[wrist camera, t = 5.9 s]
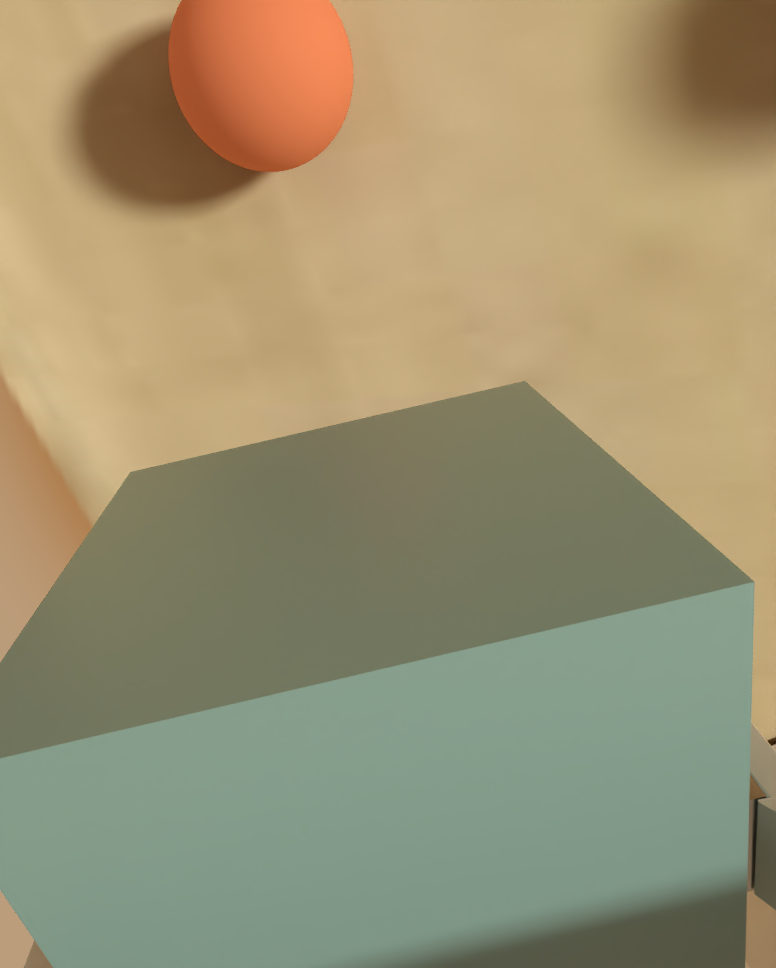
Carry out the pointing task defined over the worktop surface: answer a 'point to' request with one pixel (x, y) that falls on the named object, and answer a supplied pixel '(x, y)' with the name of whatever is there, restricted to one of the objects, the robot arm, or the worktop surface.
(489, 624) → the teal eraser-like brick
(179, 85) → the ball
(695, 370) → the worktop surface
